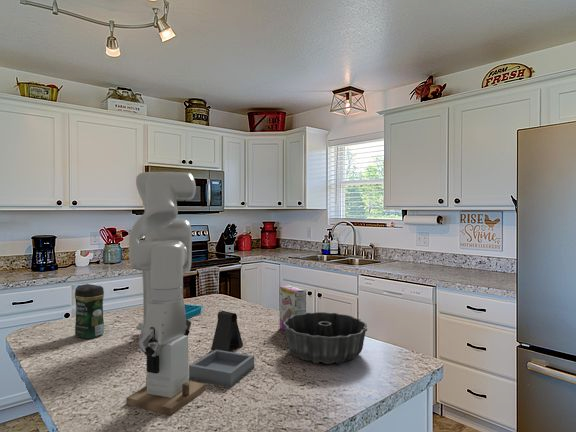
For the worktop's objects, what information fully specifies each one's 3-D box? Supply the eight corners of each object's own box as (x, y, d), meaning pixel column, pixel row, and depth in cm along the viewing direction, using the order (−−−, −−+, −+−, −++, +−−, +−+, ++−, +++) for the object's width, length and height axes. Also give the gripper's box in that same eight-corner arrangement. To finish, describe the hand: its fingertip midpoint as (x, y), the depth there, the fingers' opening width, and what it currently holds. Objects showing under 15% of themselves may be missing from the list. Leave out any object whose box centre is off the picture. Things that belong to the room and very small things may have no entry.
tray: (189, 378, 104) (189, 365, 104) (215, 361, 116) (215, 349, 116) (230, 386, 99) (230, 373, 99) (254, 367, 111) (254, 355, 111)
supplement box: (189, 385, 96) (189, 335, 96) (171, 399, 89) (170, 345, 89) (165, 381, 99) (165, 332, 99) (145, 394, 92) (145, 341, 92)
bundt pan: (383, 354, 122) (383, 322, 122) (332, 379, 103) (332, 342, 103) (319, 335, 141) (319, 307, 141) (266, 354, 122) (266, 322, 122)
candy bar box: (278, 328, 148) (278, 286, 148) (289, 326, 151) (289, 284, 151) (295, 336, 139) (295, 291, 138) (306, 334, 142) (306, 289, 141)
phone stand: (224, 354, 121) (224, 316, 121) (210, 350, 125) (210, 313, 125) (243, 346, 129) (243, 310, 128) (230, 342, 132) (230, 308, 132)
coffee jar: (70, 336, 139) (70, 285, 138) (91, 330, 145) (90, 281, 145) (88, 341, 134) (87, 287, 134) (108, 334, 141) (107, 284, 141)
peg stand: (126, 403, 90) (126, 386, 90) (164, 381, 102) (164, 366, 102) (171, 415, 85) (171, 397, 85) (205, 390, 97) (205, 374, 97)
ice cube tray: (204, 313, 172) (204, 306, 172) (175, 325, 153) (175, 318, 153) (183, 310, 176) (183, 303, 176) (152, 322, 158) (152, 315, 158)
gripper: (177, 287, 103) (177, 351, 103) (127, 300, 87) (128, 376, 87) (201, 289, 100) (201, 354, 100) (154, 303, 84) (154, 381, 84)
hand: (167, 364), depth 93 cm, fingers open, 9 cm apart
